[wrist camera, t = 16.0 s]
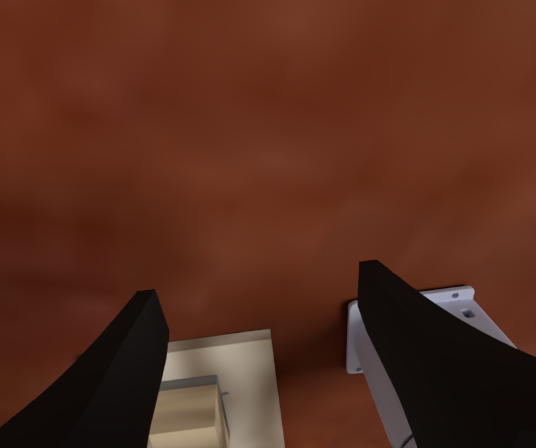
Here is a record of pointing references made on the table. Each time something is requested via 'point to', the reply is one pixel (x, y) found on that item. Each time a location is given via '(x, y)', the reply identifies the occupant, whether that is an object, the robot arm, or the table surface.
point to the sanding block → (190, 415)
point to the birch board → (235, 382)
